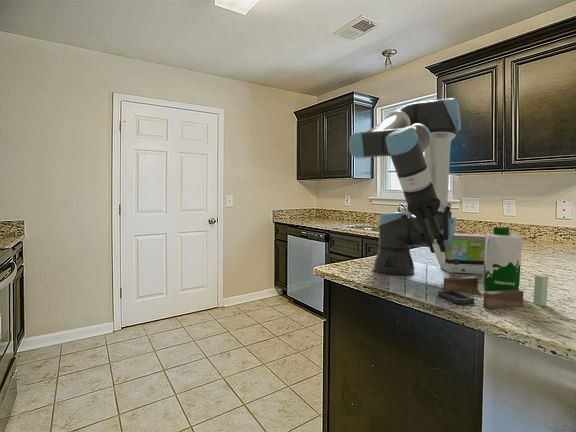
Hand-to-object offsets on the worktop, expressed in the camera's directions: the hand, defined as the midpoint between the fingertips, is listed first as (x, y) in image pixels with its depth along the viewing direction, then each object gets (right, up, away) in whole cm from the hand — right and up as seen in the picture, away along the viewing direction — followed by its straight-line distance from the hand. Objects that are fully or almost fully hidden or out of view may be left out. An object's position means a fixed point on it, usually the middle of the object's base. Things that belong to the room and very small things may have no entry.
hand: (442, 261), depth 93 cm
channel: (+12, -11, +3) cm, 17 cm away
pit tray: (+4, -11, 0) cm, 12 cm away
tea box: (+26, -9, +37) cm, 46 cm away
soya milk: (+21, -11, +6) cm, 24 cm away
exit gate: (+23, -11, +5) cm, 26 cm away
